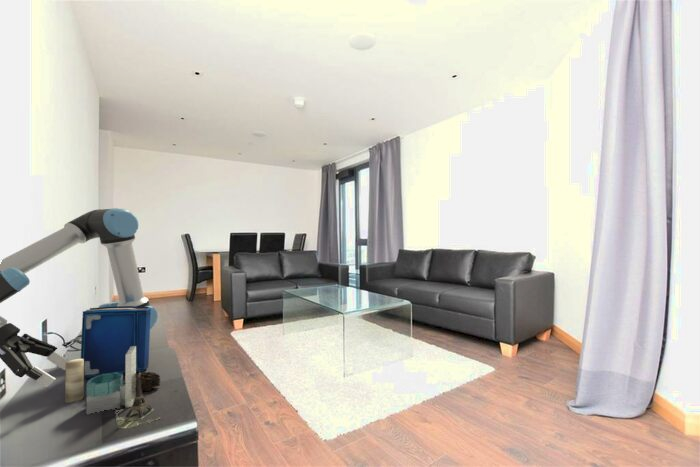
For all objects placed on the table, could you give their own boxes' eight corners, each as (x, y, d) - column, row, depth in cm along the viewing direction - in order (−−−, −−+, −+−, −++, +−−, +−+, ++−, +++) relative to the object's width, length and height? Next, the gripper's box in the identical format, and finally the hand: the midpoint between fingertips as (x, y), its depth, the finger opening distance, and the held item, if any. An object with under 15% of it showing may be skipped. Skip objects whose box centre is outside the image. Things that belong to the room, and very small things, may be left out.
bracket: (92, 403, 98) (92, 351, 98) (135, 395, 103) (136, 345, 103) (83, 416, 90) (84, 360, 90) (131, 407, 95) (131, 354, 95)
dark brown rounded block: (93, 403, 98) (93, 385, 98) (100, 394, 104) (100, 377, 104) (159, 391, 106) (159, 374, 106) (161, 383, 112) (161, 367, 112)
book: (152, 365, 127) (153, 303, 127) (147, 372, 120) (147, 307, 120) (87, 373, 120) (88, 307, 120) (78, 381, 113) (79, 311, 114)
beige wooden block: (68, 397, 101) (68, 360, 101) (85, 394, 103) (85, 357, 103) (62, 403, 97) (63, 365, 98) (80, 400, 99) (81, 362, 99)
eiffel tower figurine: (112, 412, 94) (113, 367, 94) (152, 400, 100) (152, 358, 100) (118, 435, 82) (118, 384, 82) (162, 420, 89) (162, 373, 89)
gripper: (5, 331, 102) (64, 369, 108) (-49, 357, 80) (29, 403, 86) (28, 313, 105) (84, 351, 111) (-19, 333, 82) (55, 380, 88)
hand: (60, 374), depth 98 cm, fingers open, 13 cm apart
